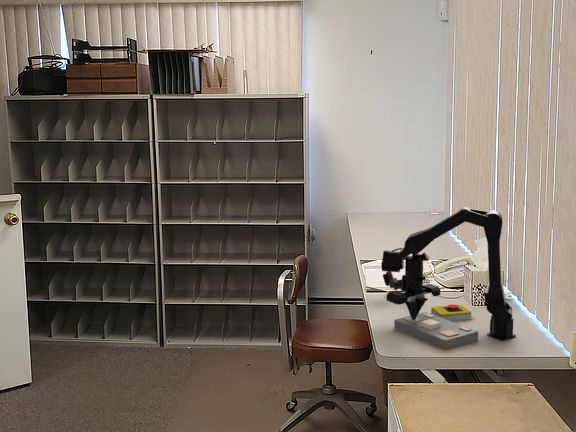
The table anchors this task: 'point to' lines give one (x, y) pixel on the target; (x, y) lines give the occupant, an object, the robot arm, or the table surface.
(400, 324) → the keypad
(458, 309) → the emergency button
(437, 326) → the offwhite key
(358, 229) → the table surface
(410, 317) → the sage key
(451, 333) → the terracotta key
